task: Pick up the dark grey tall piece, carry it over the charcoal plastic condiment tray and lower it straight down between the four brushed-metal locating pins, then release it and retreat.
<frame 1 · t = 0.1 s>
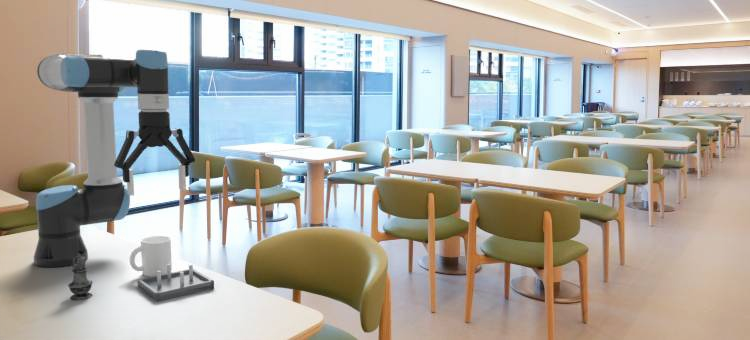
hand: (157, 191, 155), 28 cm above the table, fingers open, 13 cm apart
mug: (151, 274, 175), on the table
tray: (175, 287, 163), on the table
dark grey tall piece: (81, 297, 156), on the table
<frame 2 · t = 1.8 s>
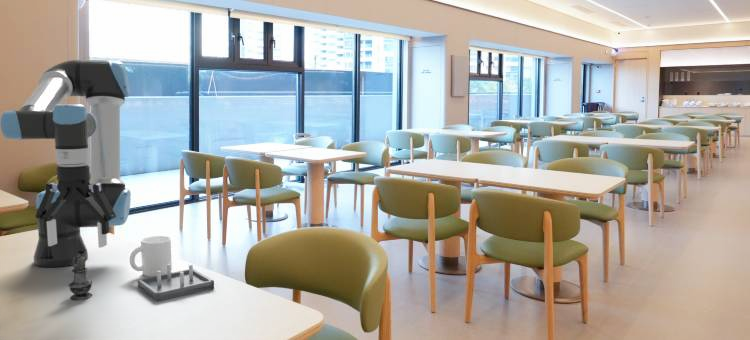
hand: (77, 245, 154), 14 cm above the table, fingers open, 13 cm apart
nothing on the table moved.
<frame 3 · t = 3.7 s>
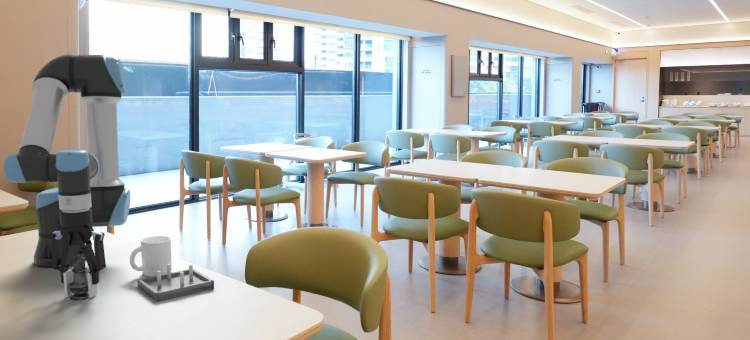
hand: (81, 295, 156), 0 cm above the table, fingers closed on dark grey tall piece, 6 cm apart
dark grey tall piece: (81, 297, 156), on the table, touching gripper
everything else where it was.
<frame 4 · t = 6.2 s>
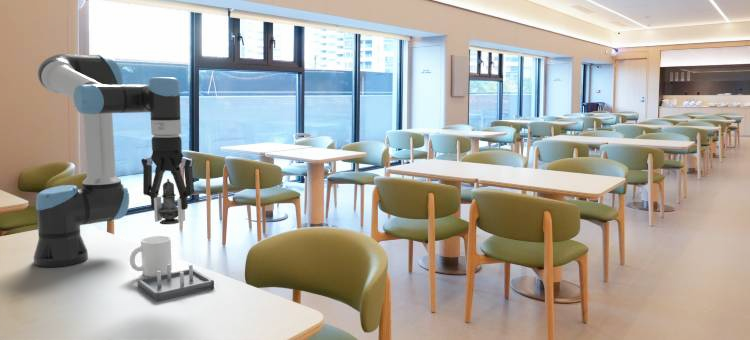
hand: (170, 220, 160), 19 cm above the table, fingers closed on dark grey tall piece, 6 cm apart
dark grey tall piece: (170, 222, 160), point 19 cm above the table, touching gripper
everything else where it was.
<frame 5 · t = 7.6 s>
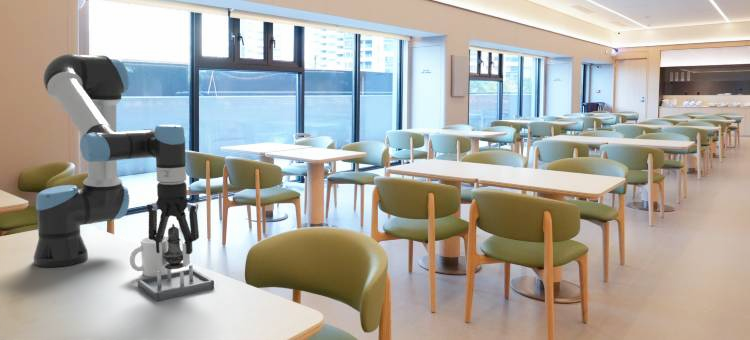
hand: (174, 264, 162), 7 cm above the table, fingers closed on dark grey tall piece, 6 cm apart
dark grey tall piece: (174, 266, 162), point 6 cm above the table, touching gripper
everything else where it was.
when the fingers open (3 cm above the table, at t = 8.7 s): dark grey tall piece stays where it is, resting on tray.
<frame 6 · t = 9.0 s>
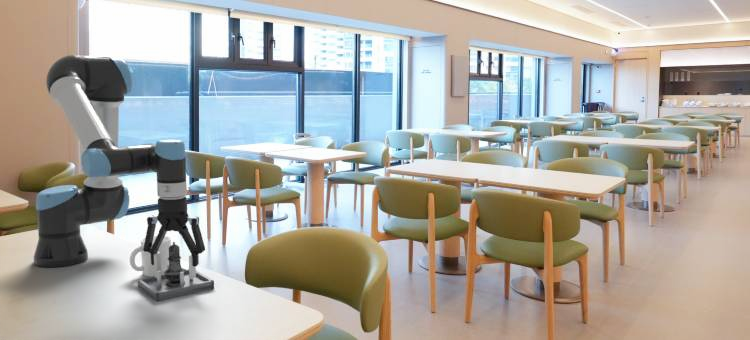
hand: (175, 276, 163), 3 cm above the table, fingers open, 9 cm apart
dark grey tall piece: (175, 284, 163), point 1 cm above the table, touching tray
everything else where it was.
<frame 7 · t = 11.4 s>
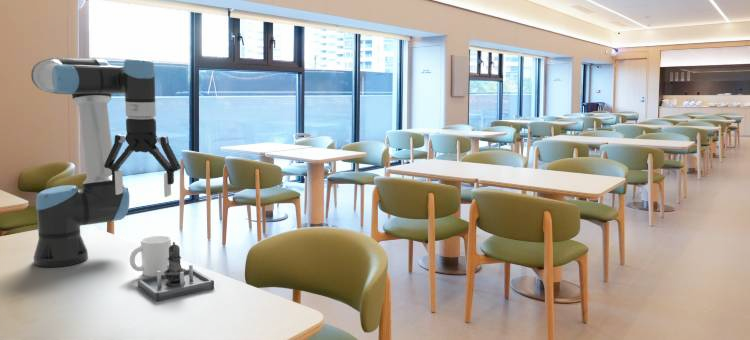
hand: (143, 194, 162), 26 cm above the table, fingers open, 13 cm apart
nothing on the table moved.
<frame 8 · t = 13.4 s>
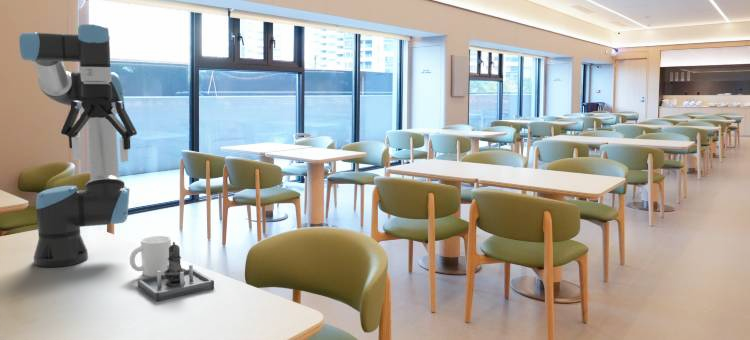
hand: (100, 161, 163), 35 cm above the table, fingers open, 13 cm apart
nothing on the table moved.
at the end: dark grey tall piece 0.1 cm off-centre on the tray, point 1.0 cm above the tray's base; dark grey tall piece tilted 0°; the gripper is holding nothing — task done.
